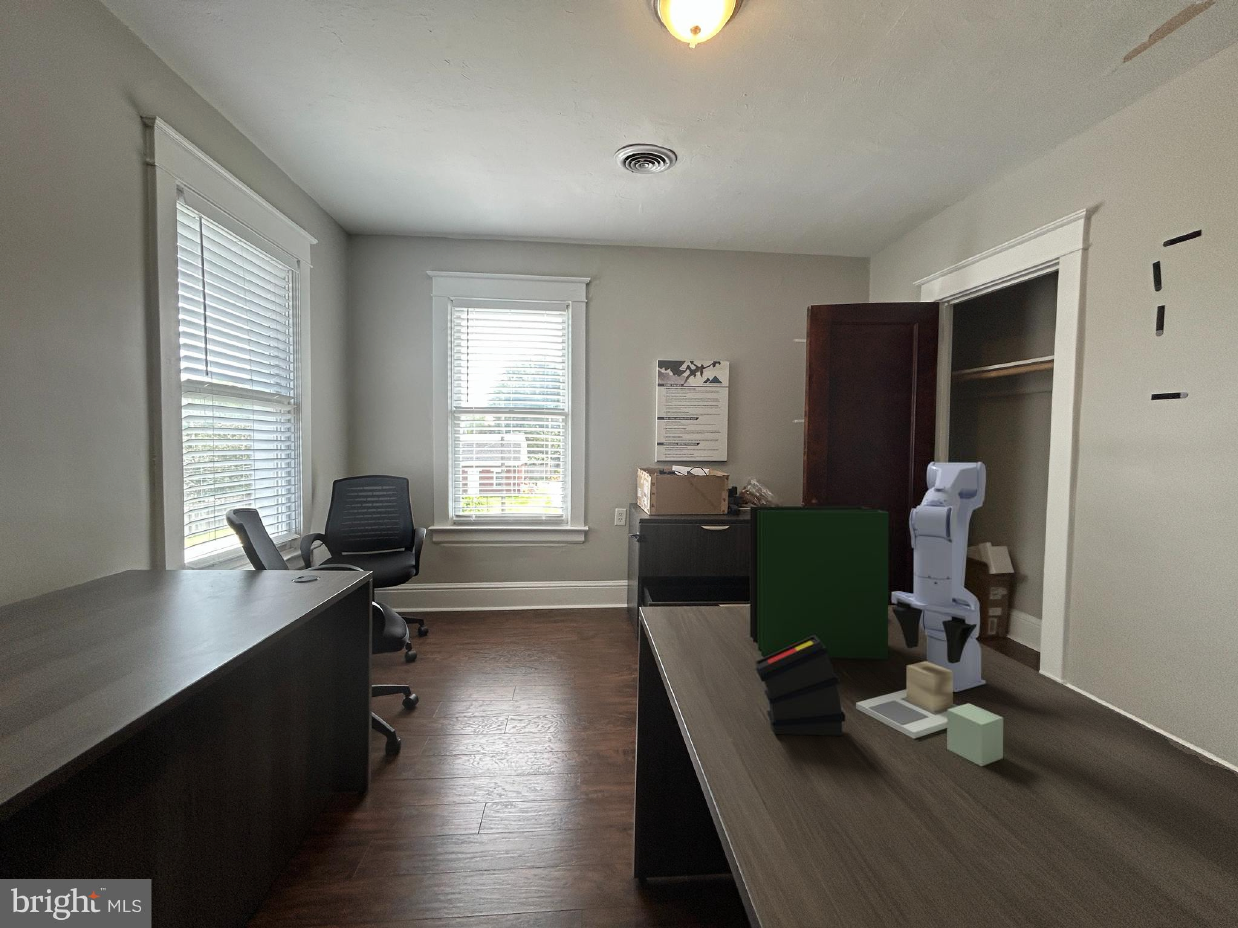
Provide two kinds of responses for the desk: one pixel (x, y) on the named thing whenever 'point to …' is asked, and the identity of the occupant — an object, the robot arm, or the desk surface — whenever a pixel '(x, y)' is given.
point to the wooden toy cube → (929, 686)
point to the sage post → (975, 734)
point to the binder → (820, 578)
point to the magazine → (802, 690)
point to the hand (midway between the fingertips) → (932, 654)
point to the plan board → (904, 714)
